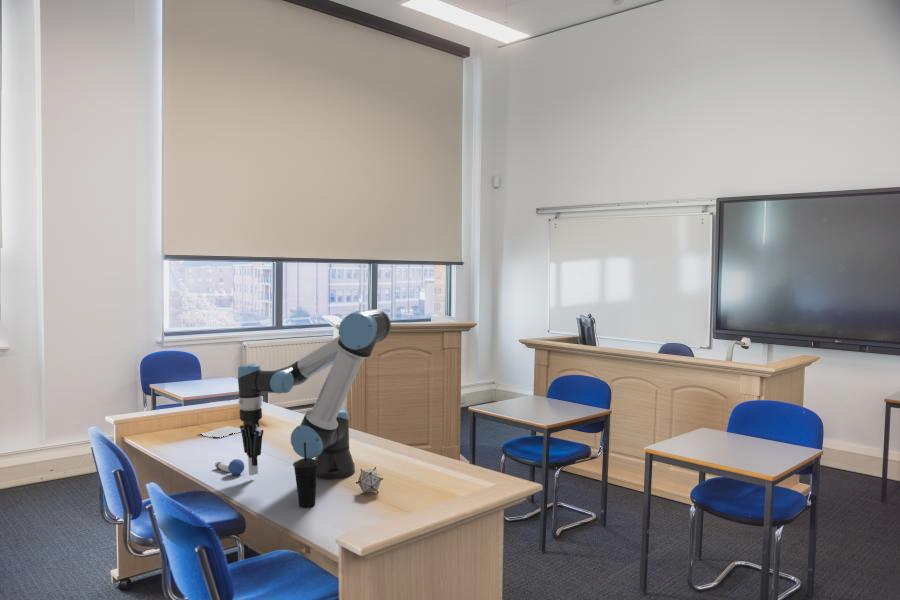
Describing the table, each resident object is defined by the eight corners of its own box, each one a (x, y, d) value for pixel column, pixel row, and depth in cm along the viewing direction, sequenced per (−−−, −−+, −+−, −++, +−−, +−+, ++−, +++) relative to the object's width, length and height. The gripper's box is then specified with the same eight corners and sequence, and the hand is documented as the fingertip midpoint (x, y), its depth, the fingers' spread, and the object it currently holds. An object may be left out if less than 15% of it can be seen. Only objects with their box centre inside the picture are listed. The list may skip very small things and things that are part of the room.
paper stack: (262, 433, 299) (262, 432, 299) (216, 447, 278) (216, 446, 278) (227, 427, 312) (227, 425, 311) (181, 440, 290) (181, 439, 290)
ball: (239, 463, 246) (248, 470, 243) (227, 472, 243) (236, 480, 240) (236, 453, 243) (246, 461, 240) (223, 463, 239) (233, 471, 237)
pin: (225, 468, 242) (213, 463, 248) (227, 474, 243) (215, 469, 249) (231, 464, 244) (219, 460, 250) (233, 470, 245) (221, 465, 251)
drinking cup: (321, 500, 214) (319, 439, 212) (317, 509, 206) (315, 445, 205) (297, 501, 213) (294, 439, 212) (292, 510, 206) (290, 446, 205)
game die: (373, 505, 219) (376, 487, 212) (350, 495, 220) (352, 477, 214) (385, 484, 225) (388, 466, 219) (362, 474, 227) (365, 456, 221)
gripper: (231, 407, 236) (234, 472, 238) (249, 413, 227) (252, 481, 228) (251, 403, 241) (254, 467, 243) (269, 409, 232) (272, 475, 233)
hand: (253, 474), depth 236 cm, fingers closed
